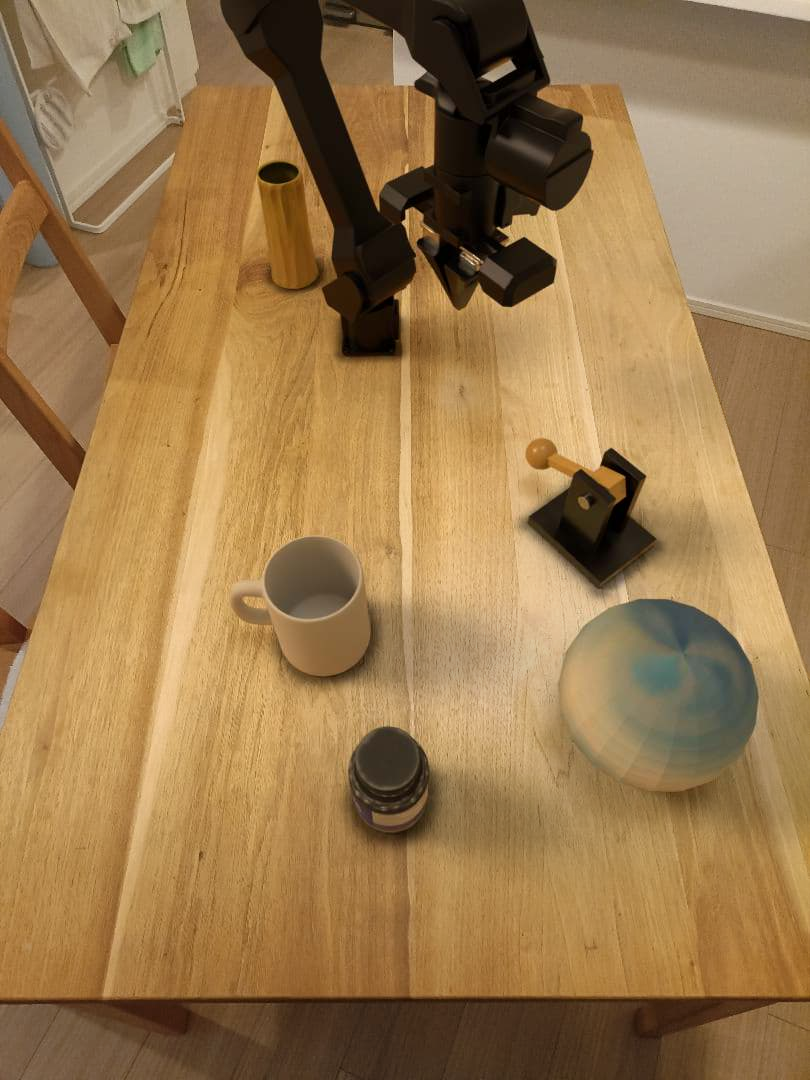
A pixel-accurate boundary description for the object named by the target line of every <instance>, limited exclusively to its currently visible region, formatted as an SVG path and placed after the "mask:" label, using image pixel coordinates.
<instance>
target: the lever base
mask: <svg viewBox="0 0 810 1080" xmlns="http://www.w3.org/2000/svg"><path fill="white" fill-rule="evenodd" d="M601 466H604V467H607V468H609V469H611V470H613V471H615V472H617V473H619V474H621V475H623V476H625V481H626V497H625V498H623V499H622V500H621V501H619V502H618V503H617V504H615V501H616V498H615V497H614V496H613V495H612V494H611V493H609V492H608V491H607V490H606V489H605V488H603V487H602V486H601V485H600V484H599V483H598V482H596V481H595V480H594V479H593V478H592V477H590V476H589V475H588V474H587V473H586V472H585V471H583V470H582V469H580V470H578V471H577V472H575V473H574V474H573V478H571V482H570V485H569V486H568V488H566V489H565V490H564V491H562V492H560V493H559V494H558V495H557V496H555V497H554V498H552V499H550V501H548V502H547V503H546V504H544V505H543V506H541V507H540V508H539V509H537V510H536V511H534V512H532V513H531V514H530V515H528V517H527V524H528V525H529V526H530V527H531V528H532V529H533V530H534V531H535V532H536V533H537V534H539V536H541V537H542V538H543V540H545V541H546V542H547V543H548V544H549V545H550V546H551V547H553V548H554V549H555V550H556V551H557V552H558V553H559V554H560V555H561V556H562V557H563V558H564V559H566V561H568V562H569V563H570V564H571V565H572V566H573V567H574V568H575V569H576V570H577V571H579V572H580V573H581V574H582V576H584V577H585V578H586V579H587V580H588V581H589V582H590V583H591V584H592V585H593V586H595V587H596V589H600V588H601V587H603V586H604V585H606V584H607V583H608V582H609V581H611V580H612V579H613V578H614V577H615V576H617V575H618V574H619V573H620V572H622V571H623V570H624V569H625V568H627V567H628V566H630V565H631V564H632V563H633V562H634V561H636V560H637V559H639V558H640V557H641V556H642V555H643V554H645V553H646V552H647V551H648V550H650V549H651V548H652V547H654V545H655V543H656V541H657V538H656V536H654V535H653V534H652V533H651V532H649V531H648V530H647V529H646V528H644V527H643V526H642V525H641V524H640V523H639V522H637V521H636V520H635V519H634V518H633V517H632V516H631V515H632V513H633V511H634V508H635V506H636V503H637V501H638V498H639V497H640V493H641V491H642V488H643V487H644V485H645V481H646V480H647V477H648V476H647V475H646V474H645V473H644V472H642V470H640V469H639V468H637V466H635V465H634V464H633V463H632V462H630V461H629V460H628V459H627V458H625V457H624V456H623V455H621V453H619V452H618V451H617V450H615V449H614V448H613V447H609V448H608V449H607V450H605V451H604V452H603V455H602V458H601V461H600V464H599V467H601ZM614 504H615V505H614Z"/></svg>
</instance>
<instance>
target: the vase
mask: <svg viewBox="0 0 810 1080" xmlns="http://www.w3.org/2000/svg"><path fill="white" fill-rule="evenodd" d="M255 175H256V181H257V185H258V190H259V197H260V203H261V210H262V215H263V221H264V228H265V235H266V241H267V242H266V243H267V250H268V256H269V257H268V258H269V264H270V269H271V279H272V281H273V283H274V284H275V285H277V286H279V287H280V288H283V289H287V290H299V289H303V288H306V287H309V286H310V285H312V284H313V283H314V282H315V281H316V279H317V278H318V276H319V268H318V264H317V259H316V254H315V247H314V243H313V238H312V234H311V228H310V222H309V215H308V207H307V201H306V200H307V199H306V192H305V184H304V177H303V175H304V174H303V171H302V169H301V166H300V165H299V164H298V163H296V162H295V161H292V160H289V159H282V158H278V159H272V160H269V161H266V162H264V163H263V164H261V165H260V166H258V168H257V170H256V174H255Z"/></svg>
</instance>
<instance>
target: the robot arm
mask: <svg viewBox="0 0 810 1080" xmlns="http://www.w3.org/2000/svg"><path fill="white" fill-rule="evenodd" d="M339 1H340V2H343V4H345V5H348V6H350V7H351V8H353V9H354V10H356V11H359V12H360V13H362V14H364V15H365V16H368V17H369V18H371V19H373V20H375V21H377V22H378V23H381V24H382V25H384V26H386V27H388V28H390V29H391V30H393V31H395V32H396V33H397V34H398V35H399V36H400V37H402V38H403V39H404V40H405V43H406V46H407V49H408V52H409V54H410V57H411V59H412V60H414V62H415V63H416V64H417V65H420V67H422V68H423V69H424V70H425V72H424V73H423V74H422V75H421V76H420V77H418V78H417V79H415V80H414V82H413V86H414V89H415V90H416V91H418V92H420V93H422V94H423V95H426V96H427V97H430V98H432V99H433V100H434V118H433V120H434V121H433V122H434V123H433V125H434V126H433V164H432V165H430V166H427V167H425V166H423V165H421V166H419V167H416V168H415V169H412V170H410V171H407V172H406V173H404V174H402V175H399V176H397V177H394V178H393V179H391V180H389V181H387V182H385V183H384V185H383V186H382V187H381V190H380V192H379V194H378V206H377V205H376V202H375V199H374V197H373V194H372V192H371V189H370V186H369V183H368V181H367V178H366V175H365V173H364V170H363V167H362V166H361V162H360V159H359V157H358V154H357V151H356V149H355V146H354V143H353V141H352V138H351V135H350V133H349V130H348V128H347V124H346V121H345V119H344V117H343V114H342V111H341V108H340V106H339V103H338V101H337V98H336V96H335V93H334V90H333V88H332V85H331V82H330V79H329V77H328V74H327V72H326V69H325V67H324V64H323V61H322V52H323V51H322V50H323V40H324V39H323V38H324V25H325V18H324V15H323V14H324V13H323V11H322V8H321V7H322V6H321V3H320V0H219V5H220V10H221V14H222V16H223V18H224V22H225V24H226V25H227V26H228V28H229V30H230V31H232V34H233V36H234V37H235V40H236V42H237V43H238V45H239V47H240V49H241V50H242V54H243V55H244V57H246V59H247V60H249V61H250V62H251V63H252V64H253V65H254V66H255V67H257V68H258V69H259V70H260V71H262V73H264V75H266V76H267V77H268V78H270V79H271V80H272V81H273V83H274V86H275V88H276V91H277V93H278V95H279V98H280V100H281V103H282V105H283V107H284V109H285V112H286V115H287V117H288V119H289V122H290V124H291V127H292V129H293V131H294V134H295V136H296V139H297V142H298V144H299V146H300V149H301V151H302V153H303V155H304V159H305V161H306V163H307V166H308V168H309V170H310V173H311V176H312V178H313V180H314V182H315V185H316V187H317V190H318V192H319V195H320V198H321V199H322V202H323V205H324V206H325V210H326V212H327V214H328V216H329V219H330V222H331V224H332V227H333V237H332V245H331V246H332V247H331V257H330V258H331V263H332V266H333V270H334V272H335V276H336V278H335V279H333V280H332V281H330V282H329V283H327V284H325V285H324V286H322V287H321V292H322V294H323V298H324V299H325V300H324V301H325V303H326V305H327V306H328V307H329V308H331V309H332V310H334V311H335V312H337V313H338V314H339V316H340V317H339V318H340V325H341V335H342V337H341V338H342V339H341V354H342V355H343V356H347V357H349V356H350V357H351V356H358V357H359V356H361V357H362V356H395V354H396V353H397V341H400V339H401V321H400V319H401V316H400V300H399V299H398V298H395V295H396V294H398V293H399V292H401V291H404V290H406V289H407V287H408V285H410V284H411V283H412V282H413V280H414V278H415V274H416V273H417V263H416V260H415V258H417V254H416V252H415V251H414V249H413V246H412V244H411V242H410V239H409V236H408V232H407V229H406V227H405V225H404V224H403V222H404V221H406V220H407V219H406V218H407V217H406V214H407V213H406V211H407V210H409V209H412V208H414V209H415V210H416V211H418V212H419V213H421V214H422V220H420V221H419V226H420V227H421V228H422V237H420V238H418V239H417V240H416V247H417V249H419V250H420V252H421V253H422V254H423V256H424V257H425V259H426V261H427V263H428V264H429V266H430V268H431V269H432V271H433V272H434V274H435V276H436V278H437V279H438V281H439V283H440V285H441V287H442V288H443V290H444V292H445V294H446V296H447V298H448V300H449V301H450V303H451V305H452V307H453V308H454V309H456V311H459V312H460V311H461V310H464V309H465V308H466V307H468V304H469V302H470V300H471V299H472V297H473V295H474V294H475V292H476V289H477V287H478V285H479V286H480V288H481V291H482V292H483V293H484V294H485V295H486V296H488V297H489V298H491V299H492V300H493V301H494V302H495V303H497V304H498V305H500V306H501V307H502V308H513V307H516V306H517V305H518V304H520V303H523V302H524V301H525V300H527V299H529V298H531V297H533V296H535V294H537V293H539V292H541V291H542V290H545V289H546V288H548V287H550V286H552V285H554V283H555V279H556V273H557V269H558V268H557V266H558V259H557V258H556V257H554V256H553V255H552V254H550V253H549V252H547V251H546V250H544V249H543V248H541V247H540V246H539V245H538V244H535V243H534V242H533V241H532V240H530V239H528V238H527V237H526V236H522V237H521V238H519V239H517V240H515V241H513V242H511V243H509V241H510V237H509V236H508V235H507V234H506V233H504V232H503V231H501V230H504V229H506V228H508V227H509V226H512V225H513V217H514V216H527V215H530V217H535V216H537V215H538V214H539V211H540V208H541V206H542V207H543V208H545V209H548V210H550V211H552V212H558V211H560V210H562V209H564V208H565V207H567V206H568V204H570V203H571V202H572V200H573V199H574V198H575V197H576V196H577V194H578V193H579V191H580V190H581V188H582V187H583V185H584V182H585V181H586V179H587V177H588V175H589V172H590V169H591V166H592V163H593V159H594V158H593V157H594V150H593V149H592V146H593V145H592V139H591V136H590V135H589V133H588V132H585V131H583V130H582V129H583V124H584V115H583V114H582V113H580V112H578V111H576V110H574V109H571V108H566V107H561V106H558V105H556V104H554V103H551V102H549V101H547V100H545V99H543V98H541V97H538V92H540V91H542V90H543V89H545V88H547V87H548V86H550V85H551V78H550V74H549V72H548V68H547V66H546V63H545V60H544V58H545V56H544V54H543V52H542V50H541V48H540V45H539V43H538V40H537V36H536V33H535V30H534V28H533V25H532V21H531V19H530V16H529V13H528V10H527V7H526V4H525V1H524V0H339ZM510 61H511V63H512V65H513V66H514V67H515V69H513V70H512V71H510V72H508V73H506V74H504V75H503V76H501V77H499V78H497V79H495V80H494V81H492V80H489V79H488V78H486V77H483V76H485V75H487V74H488V73H490V72H493V71H494V70H496V69H497V68H499V67H501V66H503V65H505V64H506V63H508V62H510ZM378 207H379V208H378ZM498 228H499V229H498ZM500 229H501V230H500ZM507 243H509V244H508V245H506V244H507Z"/></svg>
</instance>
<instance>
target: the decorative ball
mask: <svg viewBox="0 0 810 1080" xmlns="http://www.w3.org/2000/svg"><path fill="white" fill-rule="evenodd" d="M557 686H558V694H559V695H558V696H559V706H560V707H559V708H560V713H561V717H562V719H563V722H564V724H565V726H566V729H567V731H568V733H569V736H570V738H571V740H572V742H573V743H574V744H575V746H576V747H577V748H578V749H579V750H580V752H581V753H582V754H583V756H585V757H586V759H587V760H588V761H589V762H590V764H591V765H593V766H594V767H595V768H597V769H598V770H600V771H601V772H603V773H604V774H606V775H607V776H609V777H610V778H611V779H613V780H615V782H617V783H620V784H623V785H627V786H630V787H633V788H636V789H638V790H642V791H645V792H674V793H675V792H683V791H687V790H689V789H693V788H695V787H698V786H701V785H704V784H707V783H710V782H712V781H714V780H715V779H717V778H718V777H719V776H720V775H721V774H722V773H724V772H725V771H727V769H728V768H730V767H731V766H732V765H734V764H735V763H736V762H737V761H738V760H739V759H740V757H741V756H742V755H743V752H744V750H745V749H746V747H747V745H748V743H749V741H750V739H751V737H752V735H753V733H754V731H755V728H756V725H757V717H758V716H757V715H758V707H759V706H758V705H759V698H760V696H759V689H758V685H757V681H756V677H755V673H754V669H753V664H752V663H751V661H750V658H749V657H748V656H747V654H746V652H745V651H744V649H743V647H742V646H741V644H740V642H739V640H738V639H737V638H736V636H734V634H732V633H731V632H730V631H729V630H728V629H727V628H726V627H725V626H724V625H723V624H722V623H721V622H720V621H718V619H716V618H714V617H713V616H711V615H709V614H708V613H705V611H702V610H701V609H699V608H697V607H696V606H693V605H689V604H686V603H682V602H680V601H676V600H673V599H667V598H637V599H634V600H631V601H627V602H624V603H620V604H617V605H613V606H609V607H608V608H607V609H605V610H604V611H602V612H601V613H600V614H598V615H597V616H596V617H594V618H592V619H591V620H589V621H588V622H586V623H585V624H584V625H583V626H582V627H581V629H580V631H579V632H578V633H577V635H576V636H575V637H574V639H573V641H572V642H571V644H570V645H569V647H567V649H566V651H565V655H564V658H563V662H562V666H561V670H560V674H559V678H558V683H557Z"/></svg>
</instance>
